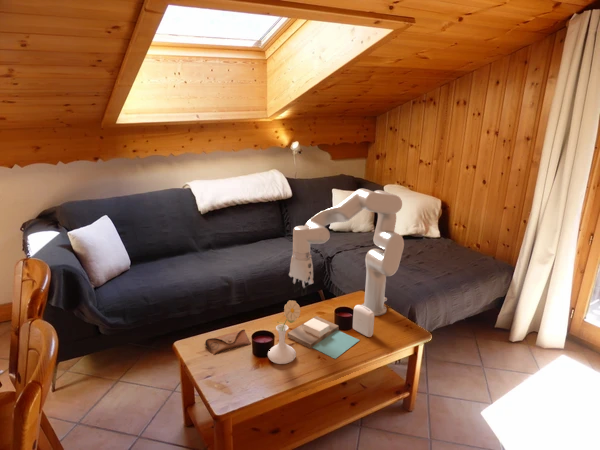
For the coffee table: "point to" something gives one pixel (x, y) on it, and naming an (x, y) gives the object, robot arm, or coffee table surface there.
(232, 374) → the coffee table surface
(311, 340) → the riser
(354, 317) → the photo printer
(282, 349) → the flower in vase
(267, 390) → the coffee table surface
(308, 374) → the coffee table surface
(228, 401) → the coffee table surface
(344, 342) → the mat
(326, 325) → the white flat block
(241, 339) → the sunglasses case
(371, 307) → the robot arm
